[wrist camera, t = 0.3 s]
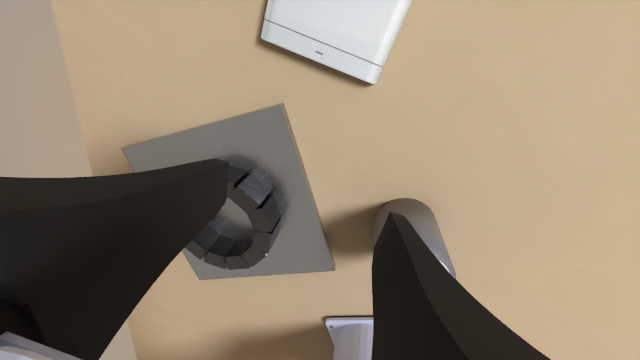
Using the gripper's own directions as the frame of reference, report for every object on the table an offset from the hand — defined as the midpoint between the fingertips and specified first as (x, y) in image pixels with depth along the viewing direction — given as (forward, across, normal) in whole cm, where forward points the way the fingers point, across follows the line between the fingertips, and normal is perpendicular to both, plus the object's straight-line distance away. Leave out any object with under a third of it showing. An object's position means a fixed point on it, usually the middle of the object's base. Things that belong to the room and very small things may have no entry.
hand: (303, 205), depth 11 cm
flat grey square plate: (+10, +8, +9) cm, 15 cm away
